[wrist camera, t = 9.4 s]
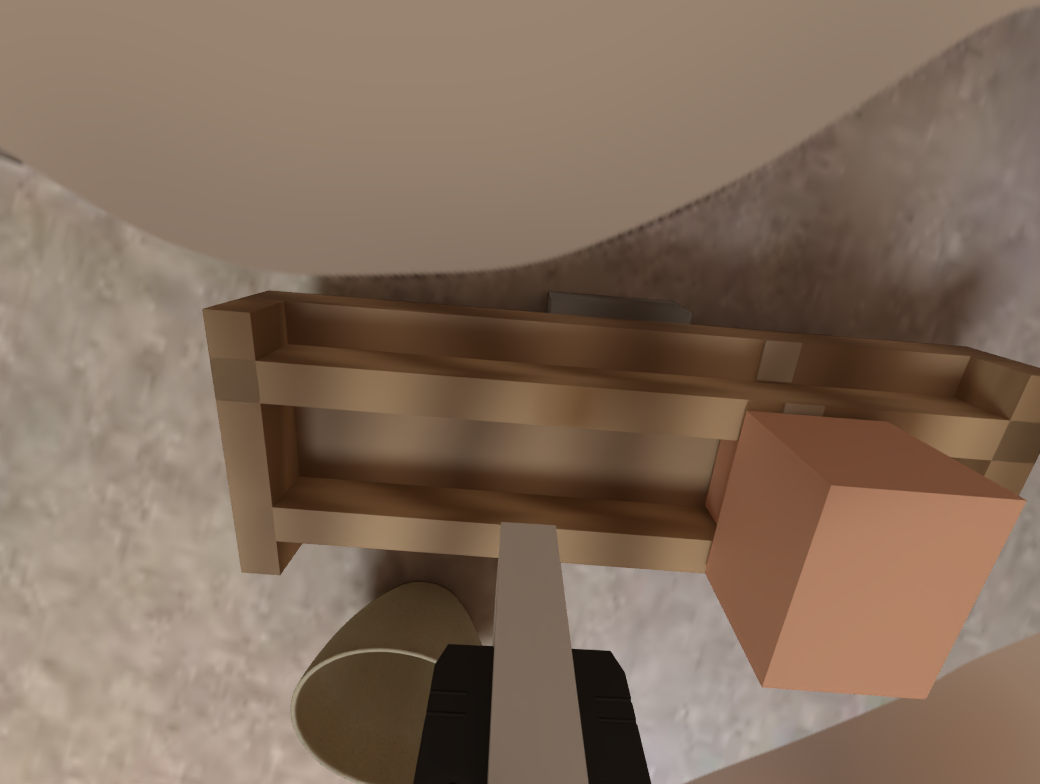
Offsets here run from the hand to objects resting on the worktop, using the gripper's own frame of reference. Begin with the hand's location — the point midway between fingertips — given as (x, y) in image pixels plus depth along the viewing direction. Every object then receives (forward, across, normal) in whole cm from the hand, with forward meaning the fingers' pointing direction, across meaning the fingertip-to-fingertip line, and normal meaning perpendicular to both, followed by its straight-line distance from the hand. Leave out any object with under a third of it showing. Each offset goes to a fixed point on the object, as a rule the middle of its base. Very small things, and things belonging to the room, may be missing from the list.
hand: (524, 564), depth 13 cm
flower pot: (+13, -5, -15) cm, 20 cm away
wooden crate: (+12, +4, 0) cm, 13 cm away
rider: (+7, +10, 0) cm, 12 cm away
